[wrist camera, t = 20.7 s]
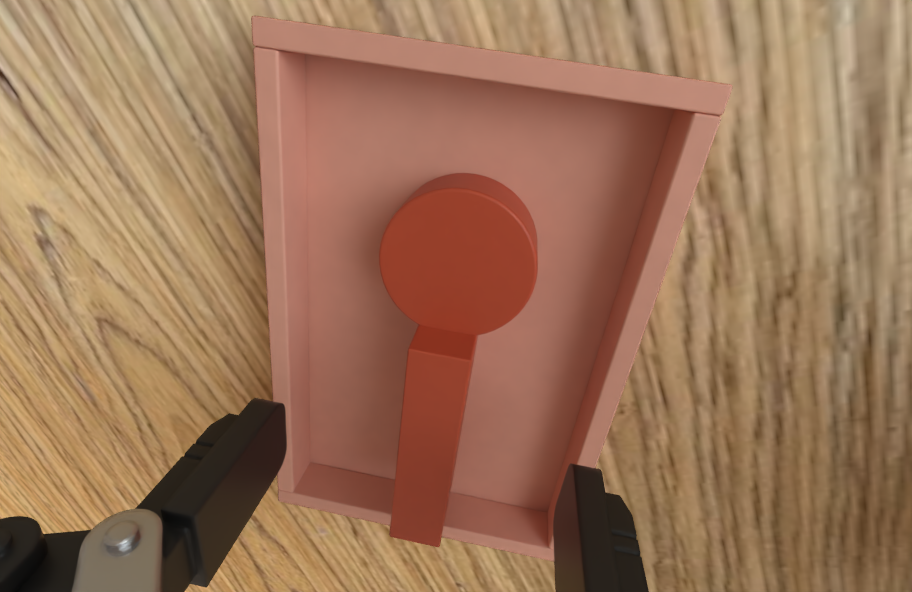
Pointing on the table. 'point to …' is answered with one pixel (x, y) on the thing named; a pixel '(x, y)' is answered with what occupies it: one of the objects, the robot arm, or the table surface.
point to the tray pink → (558, 242)
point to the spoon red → (448, 323)
